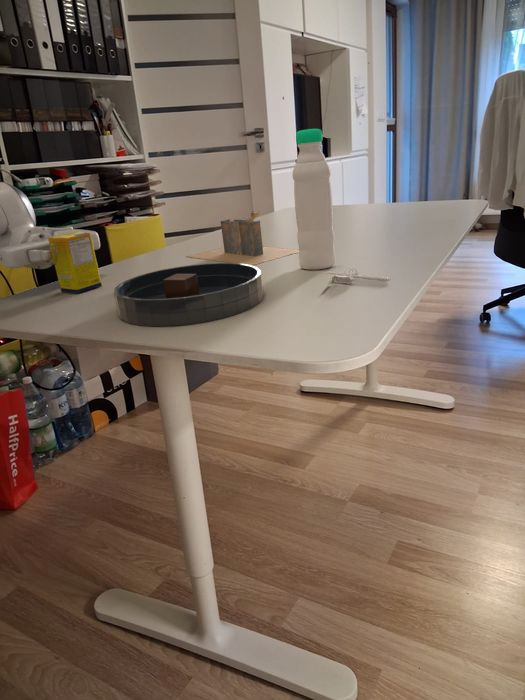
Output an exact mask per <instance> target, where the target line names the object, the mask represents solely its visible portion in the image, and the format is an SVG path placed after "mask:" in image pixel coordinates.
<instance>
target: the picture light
mask: <svg viewBox="0 0 525 700" xmlns="http://www.w3.org/2000/svg"><path fill="white" fill-rule="evenodd" d="M348 269H350V270H349V271H348V273H346V272H347V270H348ZM353 270H355V271H353ZM350 272H351V273H350ZM323 273H325V274H333V276H332V277H331V280H332V281H333V282H334V283H342V284H347V285H350V284H351V283H353V282H354V280H355V279H359V280H360V279H361V280H369V281H370V280H371V281H379V282H390V281H391V278H389V277H386V276H376V275H367V274H366V275H364V274H360V273H359V272H358V270H357V269H356V268H354V267H352V268H351V267H347V268H346V269H345V270H344V272H333V271H324V272H323ZM334 274H335V275H334Z"/></svg>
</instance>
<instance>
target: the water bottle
mask: <svg viewBox="0 0 525 700" xmlns="http://www.w3.org/2000/svg"><path fill="white" fill-rule="evenodd" d="M322 131H323V130H322V129H320V128H307V129H301V130H298V131H297V132H296V133H295V141H296V142H295V143H296V145H297V148H298V149H299V154H298V155H297V156H296V159H295V164H294V167H293V169H292V179H293V181H294V183H293V185H294V186H293V188H294V189H293V194H294V197H293V198H294V210H295V220H296V226H297V245H298V250H299V252H298V264H299V266H300V268H301V269H303V270H309V271H317V270H319V271H320V270H325V269H330V268H331V267H333V266H334V265H335V264H336V251H335V245H334V244H335V233H334V229H333V223H334V217H333V216H334V215H333V213H334V212H333V194H332V185H331V184H332V183H331V178H330V177H331V174H332V171H331V167H330V164H329V163H328V161H327V160H326V157H325V154H324V153H323V152H322V149H321V146H322V144H323V132H322Z"/></svg>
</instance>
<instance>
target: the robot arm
mask: <svg viewBox="0 0 525 700" xmlns="http://www.w3.org/2000/svg"><path fill="white" fill-rule="evenodd" d="M73 232H90V234H91V239H92V243H93V248H94V251H97V250H99V249H100V248H101V241H100V240H101V239H100V237H99V234H98V232H96V231H94V230H88V229H79V228H78V229H77V228H76V229H75V228H73V226H70V225H69V226H56V227H47V226H37V219H36V214H35V210H34V208H33V205H32V203H31V201H30V200H29V198H28V197H27V195H26V194H25V193H24V192H23V191H22V190H20V189H19V188H18V187H16V186H14V185H13V184H10V183H8V182H5V181H0V262H1V265H2V266H3V267H5V268H8V269H19V268H23V267H24V268H29V269H35V270H36V269H37V270H45V269H49V268H50V267H52V266H53V265H55V264H54V260H53V255H52V251H51V248H50V244H49V240H48V238H49V237H54V236H59V235H64V234H68V233H73Z"/></svg>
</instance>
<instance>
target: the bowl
mask: <svg viewBox="0 0 525 700" xmlns="http://www.w3.org/2000/svg"><path fill="white" fill-rule="evenodd" d="M175 274H197V279H198V286H199V292H200V295H195V296H188V297H180V298H169V299H166V294H165V288H164V282H163V280H164V279H166V278H168V277H170V276H173V275H175ZM263 285H264V284H263V277H262V270H261V269H259V267H258V266H255V265H247V264H238V263H229V262H213V263H212V262H211V263H209V262H208V263H198V264H190V265H189V264H188V265H182V266H174V267H170V268H164V269H159V270H155V271H152V272H148V273H144V274H141V275H137V276H135V277H132V278H128V279H126V280H124V281H123V282H121V283H119V284H118V285H117V286H115V287H114V289H113V295H114V300H115V306H116V311H117V315H118V317H119V318H120V319H121V321H123V322H125V323H127V324H131V325H136V326H141V327H143V326H144V327H177V326H188V325H196V324H201V323H207V322H213V321H216V320H221V319H224V318H228V317H231V316H234V315H239V314H241V313H243V312H245V311H247V310H251V309H252V308H254V307H255V306H257V305H259V304H260V302H262V300H263V299H264V286H263Z"/></svg>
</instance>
